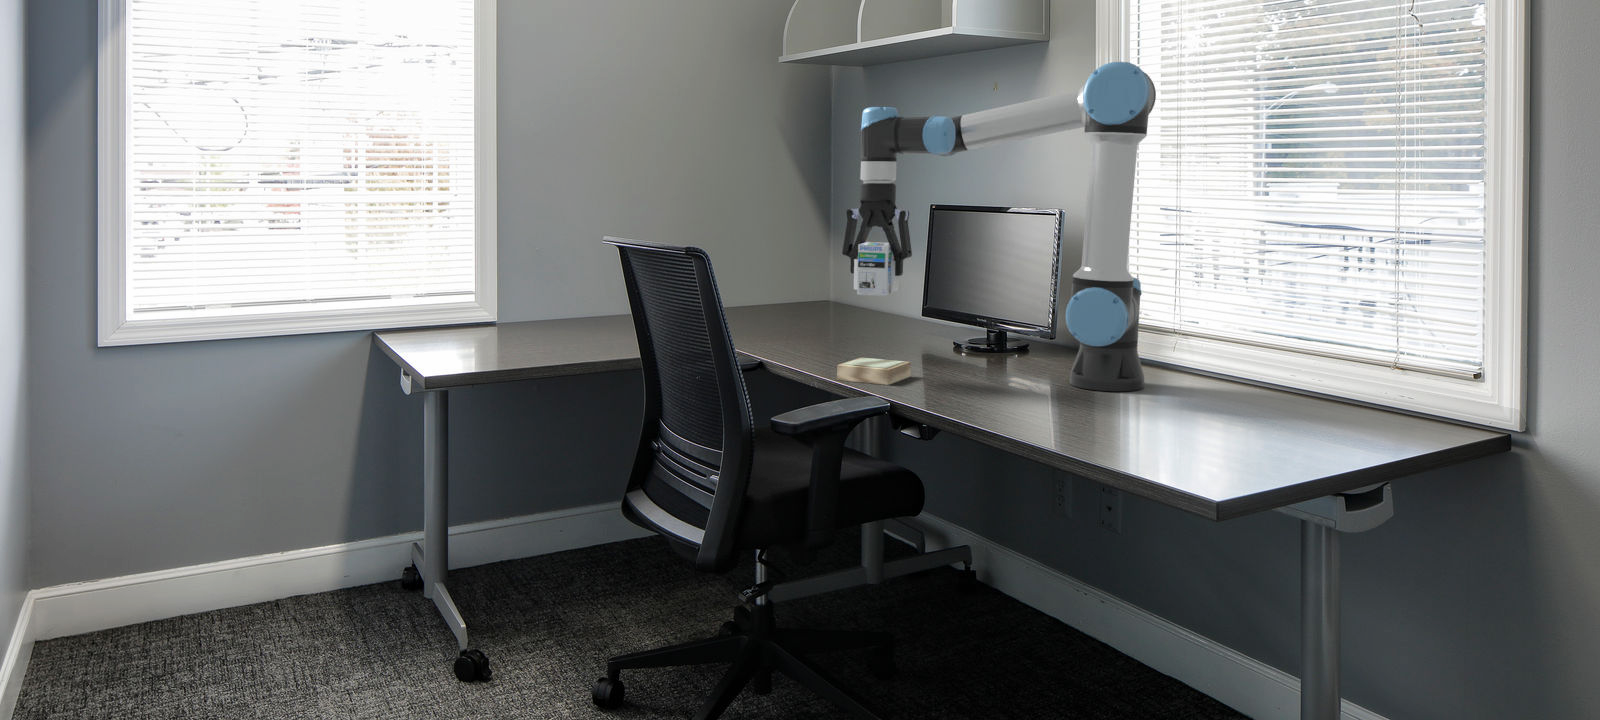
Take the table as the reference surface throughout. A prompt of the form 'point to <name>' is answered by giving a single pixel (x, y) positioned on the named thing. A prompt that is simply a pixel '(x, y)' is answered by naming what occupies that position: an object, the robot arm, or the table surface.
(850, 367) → the block
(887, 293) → the light bulb box
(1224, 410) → the table surface
